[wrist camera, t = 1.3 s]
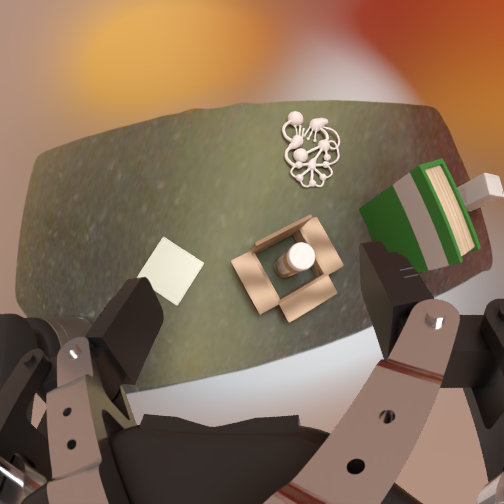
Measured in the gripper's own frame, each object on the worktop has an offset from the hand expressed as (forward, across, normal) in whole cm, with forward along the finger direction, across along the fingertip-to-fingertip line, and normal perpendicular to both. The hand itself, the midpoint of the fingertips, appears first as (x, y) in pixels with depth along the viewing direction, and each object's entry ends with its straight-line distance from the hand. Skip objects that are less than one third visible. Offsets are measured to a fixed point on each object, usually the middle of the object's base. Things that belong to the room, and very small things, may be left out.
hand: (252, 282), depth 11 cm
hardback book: (+52, +22, -27) cm, 63 cm away
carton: (+43, -2, -27) cm, 50 cm away
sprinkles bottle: (+44, -3, -25) cm, 51 cm away
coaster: (+39, -24, -20) cm, 50 cm away
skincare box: (+66, +53, -26) cm, 88 cm away
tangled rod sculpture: (+63, +8, -6) cm, 64 cm away
